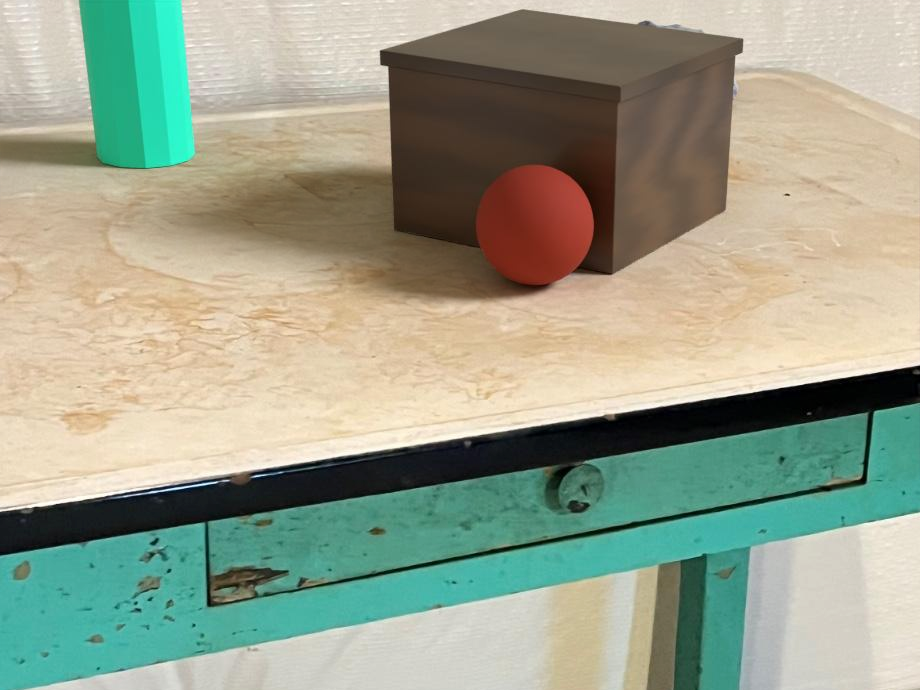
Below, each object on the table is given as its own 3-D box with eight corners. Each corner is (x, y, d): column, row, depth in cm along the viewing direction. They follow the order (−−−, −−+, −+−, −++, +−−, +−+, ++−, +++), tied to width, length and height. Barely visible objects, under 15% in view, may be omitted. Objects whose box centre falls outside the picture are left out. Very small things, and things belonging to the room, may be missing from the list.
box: (614, 277, 89) (620, 86, 84) (385, 230, 95) (379, 50, 90) (732, 209, 100) (744, 38, 95) (521, 171, 106) (521, 8, 101)
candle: (79, 153, 107) (55, -48, 101) (164, 138, 111) (145, -56, 105) (127, 173, 104) (104, -34, 98) (213, 157, 107) (195, -43, 101)
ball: (486, 257, 82) (539, 145, 82) (438, 247, 88) (488, 141, 87) (582, 311, 86) (633, 202, 85) (531, 298, 91) (579, 195, 90)
